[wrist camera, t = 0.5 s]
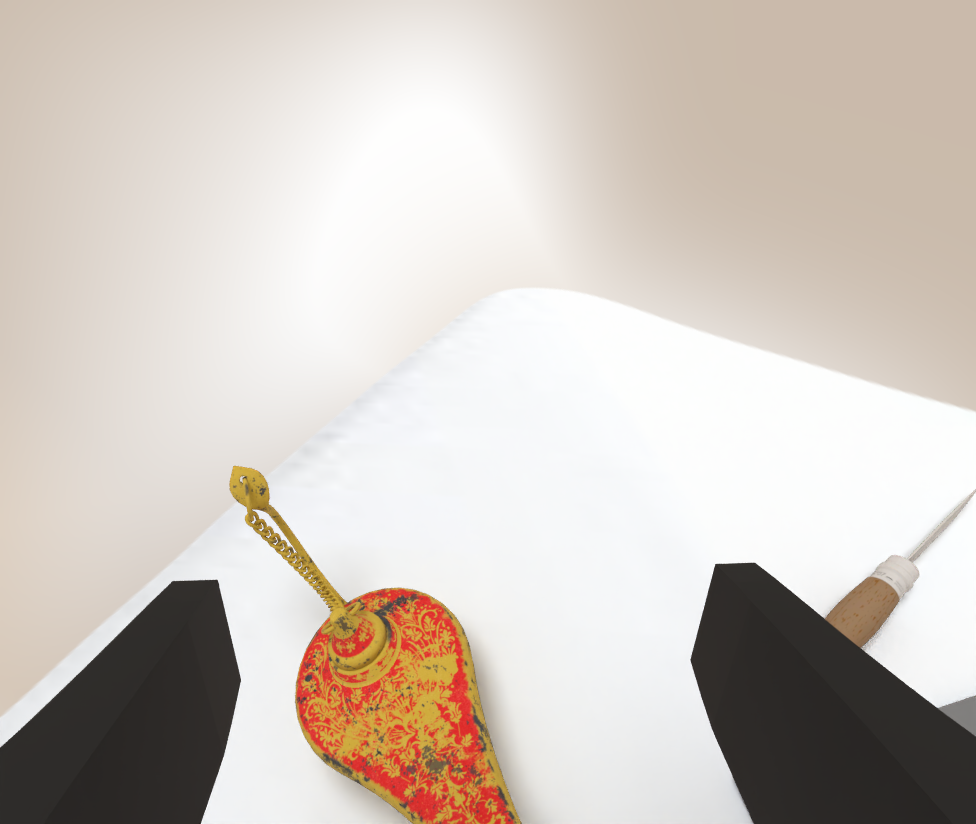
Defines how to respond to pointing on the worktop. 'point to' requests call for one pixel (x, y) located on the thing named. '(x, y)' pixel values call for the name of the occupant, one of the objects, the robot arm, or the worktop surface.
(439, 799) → the magic lamp
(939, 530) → the folding knife
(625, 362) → the worktop surface
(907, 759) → the robot arm
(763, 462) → the worktop surface
